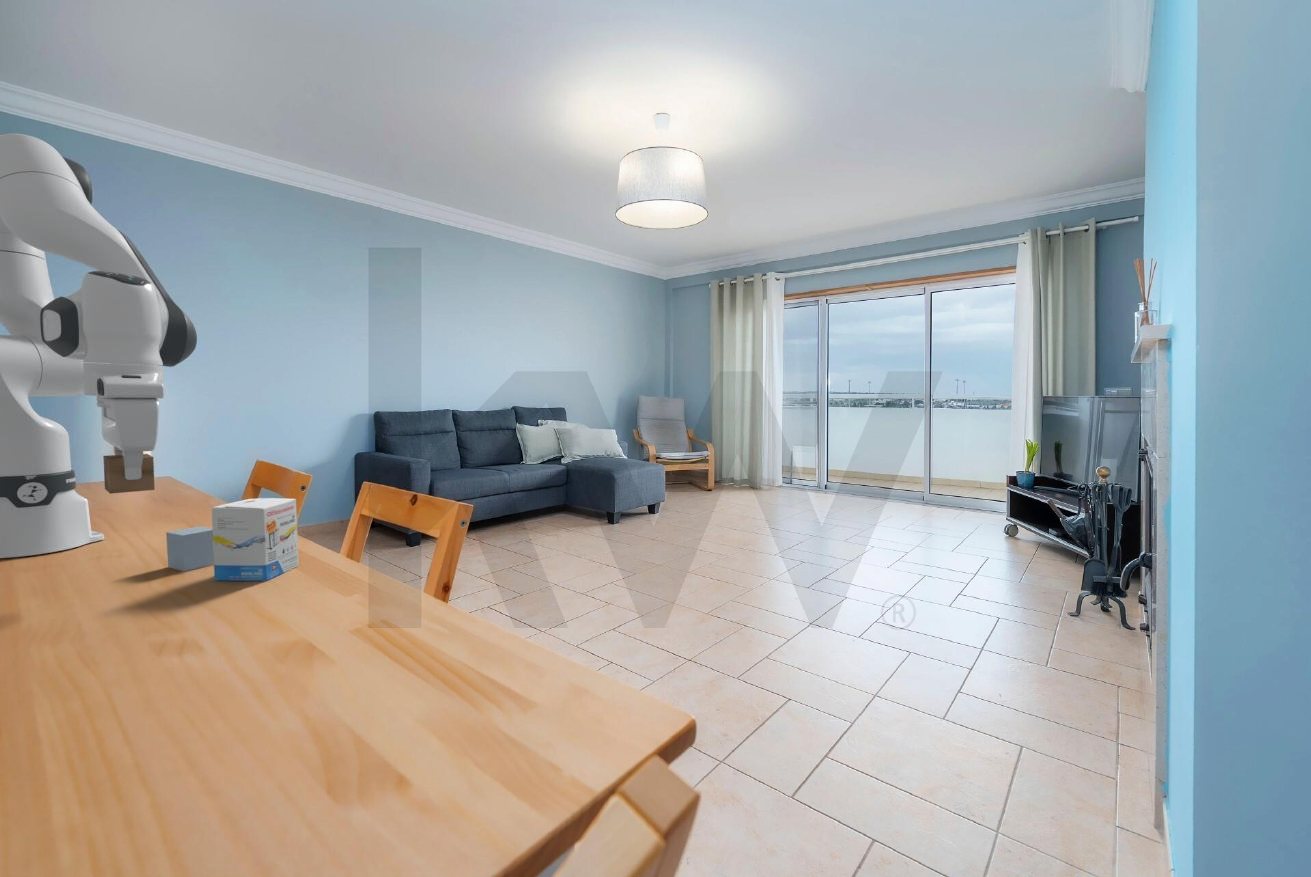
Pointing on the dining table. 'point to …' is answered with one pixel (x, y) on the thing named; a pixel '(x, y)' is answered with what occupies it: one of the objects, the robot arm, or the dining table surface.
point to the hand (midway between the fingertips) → (129, 476)
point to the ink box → (254, 539)
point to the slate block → (190, 548)
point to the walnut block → (119, 483)
